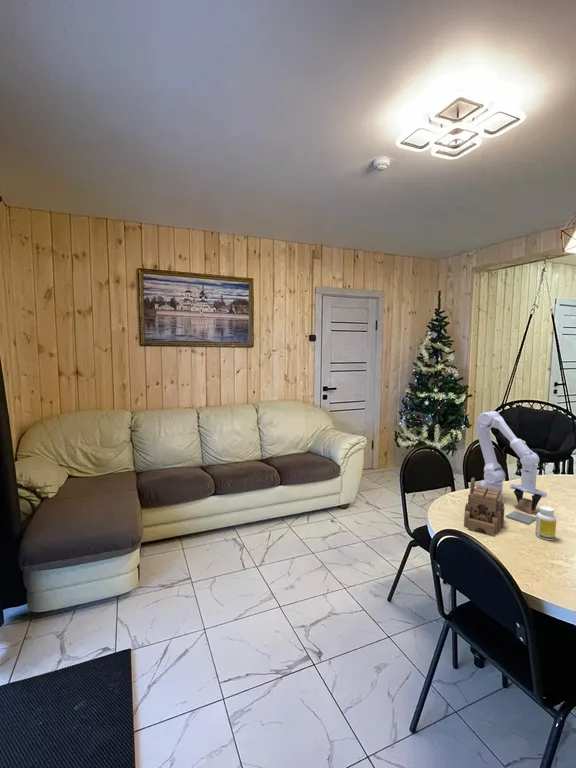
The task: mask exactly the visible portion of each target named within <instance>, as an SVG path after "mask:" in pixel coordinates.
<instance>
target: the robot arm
mask: <svg viewBox="0 0 576 768" xmlns="http://www.w3.org/2000/svg"><path fill="white" fill-rule="evenodd" d="M476 420H477V422H476V428H475V430H476V434H477V438H478V441H479V445H480V446H479V447H480V449H481V452H482V453H481V454H482V456H483V459H484V460H483V461H484V466H483V467H484V468H483V472H484V473H483V479H484V480H482V481H481V482H480V483H479V484H480V486H485V487H488V490H489V487H491V488H496V489H500V494H502V495H503V484H504V483H503V481H504V480H505V479H506V472H505V470H504V469H503V468H502V466H501V464H500V463H499V462H498V460H497V456H496V452H495V449H494V446H493V442H492V439H491V435H490V430H491V429H492V428H495V429H498V430H499V431H500V433H502V435H503V437H505V438H506V439H507V440H508V442H509V447H510V448H511V449H512V450H513V451H514V453H515V454H516V455H517V456H518V458H520V459H519V462H520V464H521V479H520V480H521V482H520V484H515V483H510V485H509V486H510V487H509V488H510V489H511V490H514V491H513V494H514V495H515V497H516V500H517V506H518V507H519V500H520V499H522V498H524V493H527V494H531V500H532V510H533V511H534V510H535V511H536V509H537V507H538V504H539V502H540V501H541V499H543V498H544V499H545V498H547V497H548V492H546V491H542V490H540V489H536V486H537V474H538V473H537V471H538V469H537V468H538V464H539V463H540V457H539V455H538V454H537V453H536V452H533V449H532V450H531V449H530V448H529V446H528V445H527V442H526V441H525V440H522V439H523V438H518V437H517V436H516V435H515V434H514V432H513V431H512V429H511V428H510V427H509V426H508V424H507V423H506V421H505V420H504V418H503V416H501V415H500V413H499V412H498V411H496V410H491V411H487V412H486V411H484V412H481V413H480V414H479V415H478V417H477V418H476ZM504 502H506V499H502V503H504Z"/></svg>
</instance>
